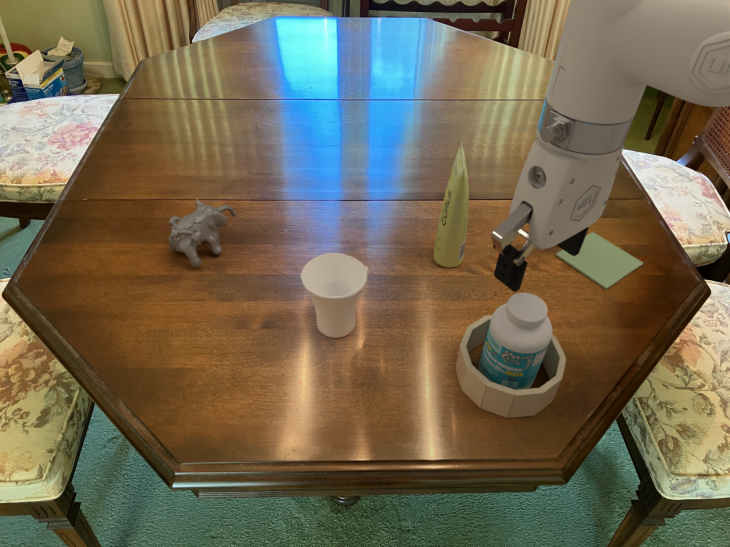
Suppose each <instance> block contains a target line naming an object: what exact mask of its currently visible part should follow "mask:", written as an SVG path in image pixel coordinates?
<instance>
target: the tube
mask: <svg viewBox="0 0 730 547" xmlns="http://www.w3.org/2000/svg"><path fill="white" fill-rule="evenodd" d="M469 188H470V186H469V176H468V168H467V161H466V156H465V151H464V147H463V141H461V142H460V146H459V148H458V150H457V151H456V155H455V158H454V161H453V163H452V167H451V171H450V175H449V179H448V182H447V185H446V188H445V193H444V196H443V197H444V198H443V200H442V206H441V210H440V215H439V220H438V225H437V231H436V235H435V243H434V249H433V260H434V262H435V263H436V264H437V265H439V266H441V267H443V268H449V269H451V268H456V267H458V266H460V265H461V264H462V263H463V261H464V257H465V251H466V250H465V249H466V242H467V233H468V225H469V213H470V212H469V209H470V208H469V207H470V189H469Z"/></svg>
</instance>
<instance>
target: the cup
mask: <svg viewBox="0 0 730 547" xmlns="http://www.w3.org/2000/svg"><path fill="white" fill-rule="evenodd" d="M369 273H370V267H369V266H367V265H364V264H363V263H362V262H361V261H360V260H358V259H357V258H355V257H353V256H350V255H348V254H345V253H341V252H329V253H324V254H320V255H317V256H316V257H314V258H312V259H311V260H310V261H308V262H307V263H306V264H305V265H304V267H302V271H301V272H300V275H299V277H300V279H301V282H302V285H303V287H304V289H305V290H306V292H307V293H308V294H309V296H310V299H311V301H312V303H313V304H312V305H313V306H314V311H315V316H316V325H317V329H318V331H319V332H320V333H321V334H323V335H324V336H326V337H328V338H331V339H341V338H343V337H347V336H348V335H350V333H352V331H354V329H355V328H356V323H357V322H356V308H357V307H356V306H357V302H358V300H359V296H360V294H361V293H362V291H363V290H364V289H365V286H366V284H367V283H368V274H369Z"/></svg>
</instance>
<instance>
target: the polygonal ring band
mask: <svg viewBox="0 0 730 547" xmlns="http://www.w3.org/2000/svg"><path fill="white" fill-rule="evenodd" d="M492 315H493V314H486V315H484V316H482V317H481V318H478V319H476V320H475V321H474V322H472V323H471V324H469V325H467V327H466V328H465V331H464V334H463V336H462V339H461V341H460V344H459V348H458V352H457V358H456V363H455V367H454V368H455V373H456V377H457V379H458V384H459V387H460V390H461V391H462V393H464V394H465V395H466V396H467V398H469V399H470V400H471V401H472V402H473V403H474V404H475V405H476V406H477V407H478V408H479V409H481V410H482V411H483V410H484V411H486V412H489V413H492V414H494V415H497V416H500V417H502V418H506V419H507V418H508V419H511V418H514V419H515V418H524V417H533V416H536V415H537V414H539V413H540V412H542V411H543V410H544V409H545V408H546V407H548V406H549V405H550V404H551V403H552V402H553V401H554V399H555V396H556V394H557V392H558V390H559V387H560V385H561V382H562V381H563V377H564V373H565V368H566V363H567V357H566V355H565V352H564V350H563V348H562V346H561V344H560V341H559V340H558V338H557V336H556V335H555V334H553V333H552V337H551V340H550V342H549V345H548V347H547V350H546V352H545V355H544V357H543V360H542V362H541V363H542V365H543V367H544V369H545V372H546V374H547V376H548V379H549V380H548V381H546V382H545V383H544V384H543V385H541V386H540V387H532V388H529V389H521V390H514V389H511V388H508V387H505V386H502V385H499V384H496V383H493V382H491V381H489V380H488V379H487V378H486V377H485V376H484V375H483V374H482V373H481V372H479V369H478V368H477V367H475V366H474V365H473V362H472V360H471V357H470V354H469V353H470V352H472V351H473V350H474V349H476V348H478V347H480V346H481V345H482V344H484V342H485V339H486V335H487V332H488V328H489V324H490V320H491V317H492Z"/></svg>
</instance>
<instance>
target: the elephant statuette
mask: <svg viewBox="0 0 730 547" xmlns="http://www.w3.org/2000/svg"><path fill="white" fill-rule="evenodd" d="M195 208H196V209H195V210H194V211H193V212H192V213H188V214H186V215H184V216H183V217H182V218H181V217H179V216H177V215H174V216H172V217H170V219H169V221H168V225H169V226H170V227H171V233H170V235H169V237H168V247H169V250H170V251H171V252H173V253H175V252H177V253H183V254H185V256H186V257H187V258H188V260H189V261H190V263H191V266H192V267H193V268H195V269H199V268H200V267H202V264H203V262H202V259H201V258H200V257H199V254H198V252H197V248H198V247H199V246H201V245H202V243H207V245H208V247H209V248H210V250H211V252H212V254H213V255H214V256H219V255H221V254H222V252H223V249H222V247H221V244H220V236H219V232H220V231H219V227H220V228H225V227H227V226H228V224H229V221H228V218H227V217H226V215H224V214H223V212H224V211H228V212H229V214H230V215H231V216H232V217H233V218H235V217H237V212H236V211H235V210H234V209H233V207H232V206H231V205H229V204H224V205H220V206H217V207H216V206H213V205H210V204H205V203H204V202H203V201H201V200H199V199H198V198H196V199H195Z"/></svg>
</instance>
